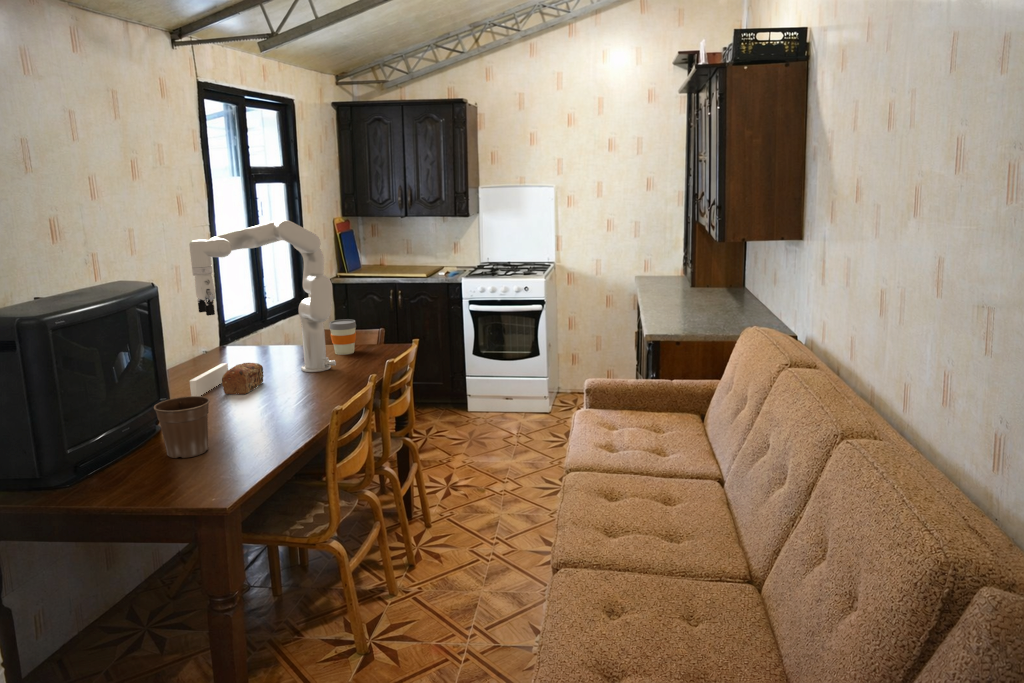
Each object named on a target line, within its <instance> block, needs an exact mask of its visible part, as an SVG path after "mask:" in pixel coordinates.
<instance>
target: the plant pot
mask: <svg viewBox="0 0 1024 683" xmlns="http://www.w3.org/2000/svg"><path fill="white" fill-rule="evenodd" d="M210 400H211V399H210V398H208V397H207V396H191V395H190V396H181V397H174V398H171V399H166V400H163V401H160V402H158V403H156V404H154V406H153V410H154V411H155V413H156V417H157V420H158V422H159V424H160V425H159V426H160V429H161V432H162V437H163V441H164V445H165V450H166V455H167V457H169V458H172V459H178V458H182V459H188V458H193V457H194V458H195V457H197V456H200V455H203V454H205V453H206V451H208V450H209V425H208V423H209V422H208V417H209V416H208V414H209V407H210V406H209V403H210V402H211V401H210Z"/></svg>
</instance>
